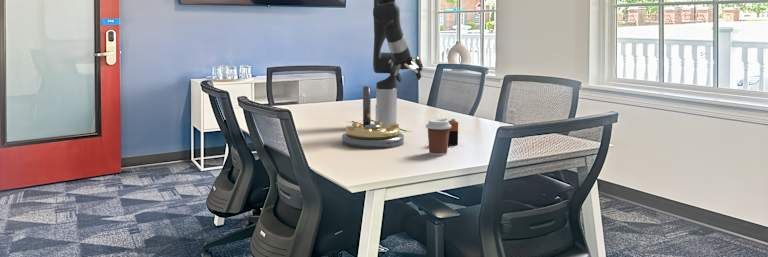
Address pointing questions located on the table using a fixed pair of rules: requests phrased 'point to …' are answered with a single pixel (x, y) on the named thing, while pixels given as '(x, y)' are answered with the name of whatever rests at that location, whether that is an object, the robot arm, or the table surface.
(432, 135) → the coffee cup
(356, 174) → the table surface
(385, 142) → the cap housing
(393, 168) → the table surface
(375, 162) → the table surface
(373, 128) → the gold base with rod
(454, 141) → the battery
